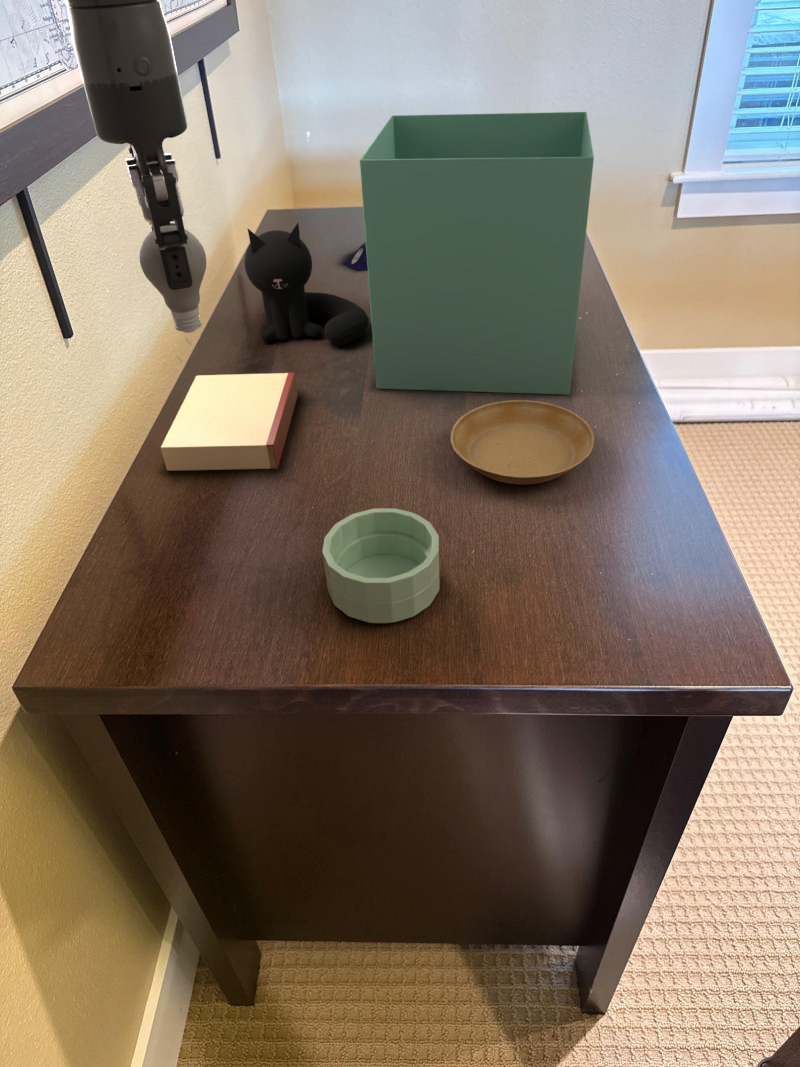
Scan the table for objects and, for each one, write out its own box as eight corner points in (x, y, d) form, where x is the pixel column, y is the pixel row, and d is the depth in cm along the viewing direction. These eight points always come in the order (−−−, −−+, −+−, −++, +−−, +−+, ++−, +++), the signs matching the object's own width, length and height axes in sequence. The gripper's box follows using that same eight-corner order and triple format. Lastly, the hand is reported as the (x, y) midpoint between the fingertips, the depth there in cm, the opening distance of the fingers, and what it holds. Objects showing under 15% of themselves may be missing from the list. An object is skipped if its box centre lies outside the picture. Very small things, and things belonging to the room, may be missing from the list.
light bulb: (146, 339, 75) (118, 234, 69) (181, 315, 80) (158, 214, 73) (197, 347, 73) (173, 240, 67) (231, 321, 78) (211, 219, 71)
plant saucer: (584, 506, 75) (587, 484, 73) (436, 487, 78) (435, 466, 77) (597, 427, 86) (599, 406, 84) (466, 414, 89) (466, 394, 88)
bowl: (347, 640, 62) (342, 595, 59) (316, 567, 70) (309, 524, 66) (457, 608, 65) (457, 563, 62) (416, 540, 72) (414, 497, 69)
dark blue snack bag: (332, 259, 131) (330, 235, 128) (402, 238, 137) (402, 215, 135) (363, 274, 125) (361, 249, 122) (435, 251, 131) (435, 227, 129)
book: (277, 469, 82) (273, 444, 80) (167, 471, 83) (160, 447, 81) (297, 395, 95) (294, 372, 93) (201, 397, 95) (196, 374, 93)
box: (566, 321, 107) (586, 111, 91) (569, 394, 92) (593, 157, 75) (401, 318, 111) (391, 115, 94) (376, 388, 95) (359, 159, 78)
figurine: (252, 358, 103) (231, 244, 94) (258, 315, 114) (240, 210, 104) (372, 348, 103) (363, 234, 94) (367, 307, 114) (358, 201, 105)
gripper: (78, 64, 67) (129, 258, 78) (84, 89, 56) (143, 310, 67) (165, 55, 69) (204, 246, 79) (188, 78, 58) (229, 295, 69)
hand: (176, 274), depth 73 cm, fingers closed on light bulb, 6 cm apart
